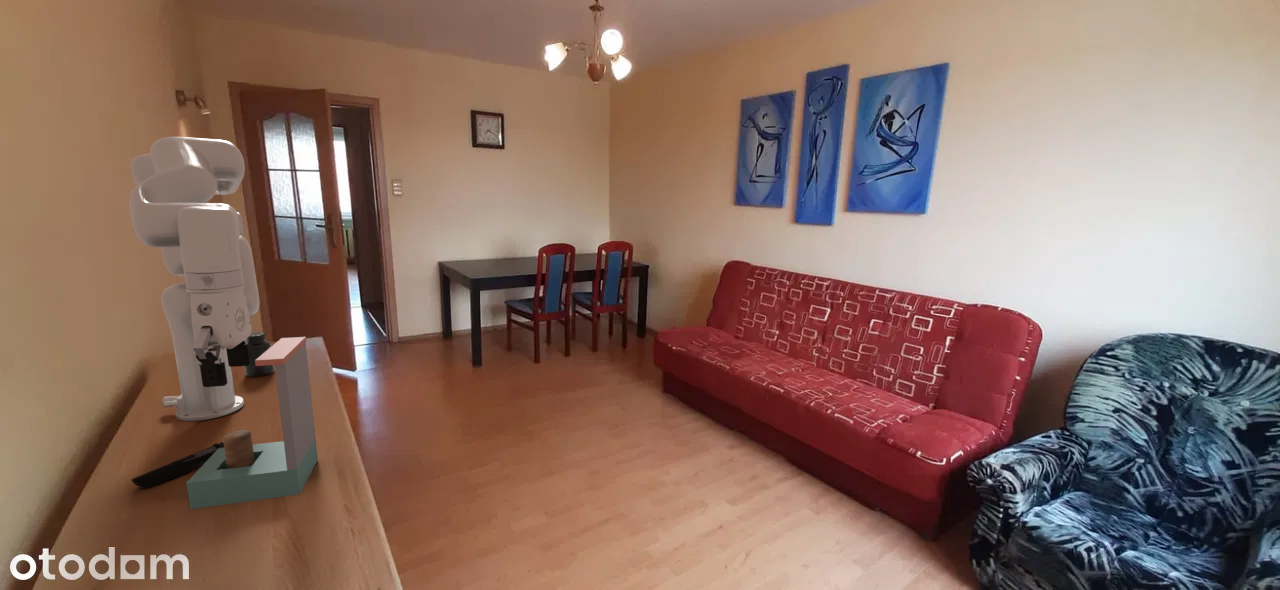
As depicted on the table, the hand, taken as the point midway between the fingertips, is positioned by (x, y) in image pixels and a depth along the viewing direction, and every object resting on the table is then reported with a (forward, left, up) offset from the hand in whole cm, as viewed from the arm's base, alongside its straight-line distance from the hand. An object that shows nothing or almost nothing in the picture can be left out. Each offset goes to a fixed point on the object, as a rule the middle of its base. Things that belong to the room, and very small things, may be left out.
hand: (228, 375), depth 88 cm
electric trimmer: (-12, +8, -22) cm, 26 cm away
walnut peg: (0, 0, -21) cm, 21 cm away
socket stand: (+3, 0, -21) cm, 22 cm away
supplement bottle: (-17, +63, -22) cm, 69 cm away
